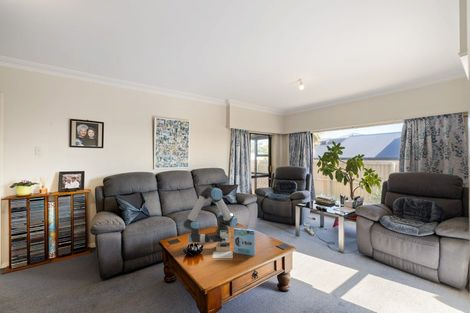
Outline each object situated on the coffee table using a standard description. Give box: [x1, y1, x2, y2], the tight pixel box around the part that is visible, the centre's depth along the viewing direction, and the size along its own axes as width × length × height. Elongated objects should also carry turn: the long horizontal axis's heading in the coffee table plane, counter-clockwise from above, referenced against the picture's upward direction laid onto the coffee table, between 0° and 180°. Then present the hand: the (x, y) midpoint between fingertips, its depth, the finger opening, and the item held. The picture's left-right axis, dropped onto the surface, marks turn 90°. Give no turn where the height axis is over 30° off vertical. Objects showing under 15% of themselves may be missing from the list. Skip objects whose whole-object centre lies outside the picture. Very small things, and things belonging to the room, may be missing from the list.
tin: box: [219, 230, 228, 247], centre depth 201 cm, size 5×6×16 cm
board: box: [211, 250, 234, 259], centre depth 188 cm, size 12×18×1 cm, turn 91°
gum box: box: [233, 226, 256, 257], centre depth 192 cm, size 20×5×23 cm, turn 72°
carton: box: [215, 241, 231, 252], centre depth 201 cm, size 12×13×14 cm
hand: (228, 238), depth 201 cm, fingers closed on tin, 5 cm apart
